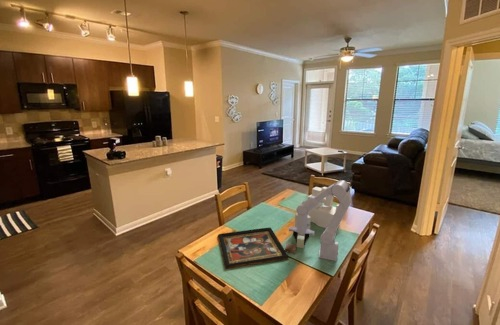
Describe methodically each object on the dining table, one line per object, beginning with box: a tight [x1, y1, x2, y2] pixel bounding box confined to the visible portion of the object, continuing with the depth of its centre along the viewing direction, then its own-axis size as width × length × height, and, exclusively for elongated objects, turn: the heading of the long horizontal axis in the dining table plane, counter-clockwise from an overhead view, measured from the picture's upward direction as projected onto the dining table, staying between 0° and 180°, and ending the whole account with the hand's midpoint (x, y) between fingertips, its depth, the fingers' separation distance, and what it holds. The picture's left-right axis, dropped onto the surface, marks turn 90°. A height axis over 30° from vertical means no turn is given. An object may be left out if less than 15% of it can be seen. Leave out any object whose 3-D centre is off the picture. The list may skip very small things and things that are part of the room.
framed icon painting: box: [217, 227, 290, 270], centre depth 144 cm, size 38×35×3 cm
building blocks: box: [307, 186, 340, 229], centre depth 169 cm, size 22×12×25 cm, turn 49°
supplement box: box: [294, 213, 312, 236], centre depth 157 cm, size 7×7×13 cm
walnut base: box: [284, 242, 297, 254], centre depth 141 cm, size 6×6×2 cm
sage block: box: [296, 235, 305, 249], centre depth 145 cm, size 4×4×6 cm
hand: (300, 243), depth 145 cm, fingers closed on sage block, 4 cm apart
